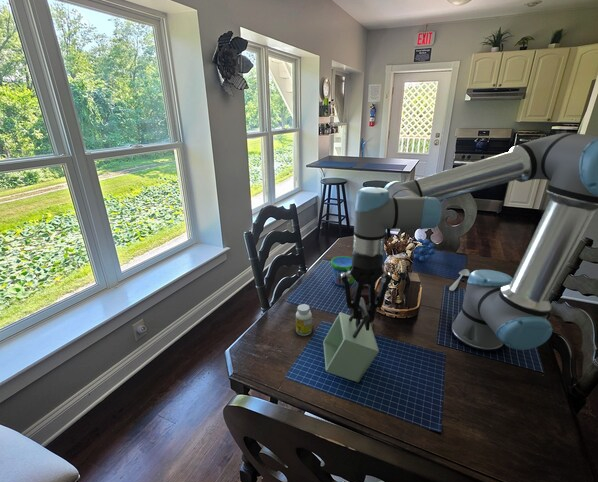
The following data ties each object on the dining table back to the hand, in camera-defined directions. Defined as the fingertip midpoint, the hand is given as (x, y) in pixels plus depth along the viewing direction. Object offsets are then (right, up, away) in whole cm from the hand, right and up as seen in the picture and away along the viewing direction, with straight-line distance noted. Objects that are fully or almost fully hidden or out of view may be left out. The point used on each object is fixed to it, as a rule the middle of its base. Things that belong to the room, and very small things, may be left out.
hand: (362, 327), depth 89 cm
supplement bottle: (-16, -7, +21) cm, 27 cm away
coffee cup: (+4, -6, +22) cm, 23 cm away
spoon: (+51, +6, +49) cm, 71 cm away
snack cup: (+1, +5, +50) cm, 50 cm away
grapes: (+43, +14, +68) cm, 81 cm away
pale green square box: (+3, -5, +2) cm, 6 cm away
